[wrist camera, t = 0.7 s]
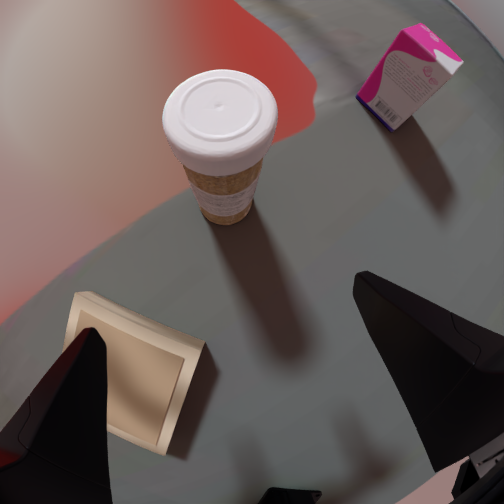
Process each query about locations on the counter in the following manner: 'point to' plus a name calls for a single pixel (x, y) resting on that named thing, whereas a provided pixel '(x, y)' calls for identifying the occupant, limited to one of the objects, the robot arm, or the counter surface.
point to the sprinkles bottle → (221, 138)
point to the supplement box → (408, 75)
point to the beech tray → (138, 369)
